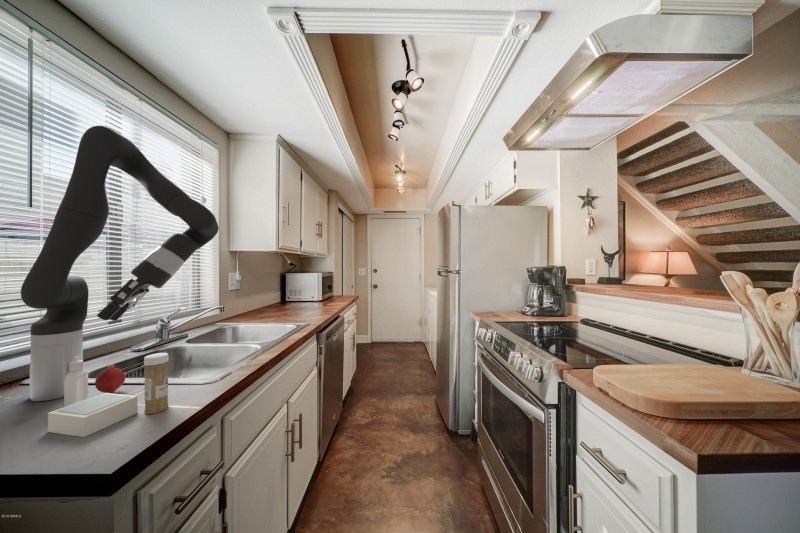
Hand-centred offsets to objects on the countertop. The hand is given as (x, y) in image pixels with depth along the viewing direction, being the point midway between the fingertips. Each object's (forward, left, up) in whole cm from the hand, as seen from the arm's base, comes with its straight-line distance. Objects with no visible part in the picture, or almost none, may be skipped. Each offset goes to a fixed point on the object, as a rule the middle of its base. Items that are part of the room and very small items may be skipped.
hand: (106, 318), depth 70 cm
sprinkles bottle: (+13, +2, -22) cm, 26 cm away
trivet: (+5, -5, -22) cm, 23 cm away
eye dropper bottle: (-11, +1, -22) cm, 25 cm away
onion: (-9, +7, -22) cm, 25 cm away
